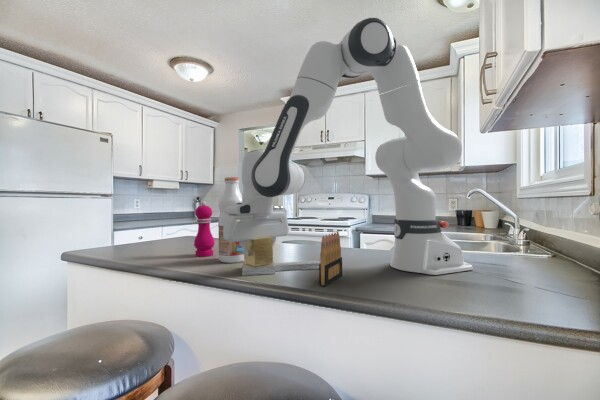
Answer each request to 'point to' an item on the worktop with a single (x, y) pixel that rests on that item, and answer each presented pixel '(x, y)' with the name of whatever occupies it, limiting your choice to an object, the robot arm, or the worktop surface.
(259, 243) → the tan sponge block
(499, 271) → the worktop surface
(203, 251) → the pepper mill
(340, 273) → the ammunition clip
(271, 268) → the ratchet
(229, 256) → the fruit juice
